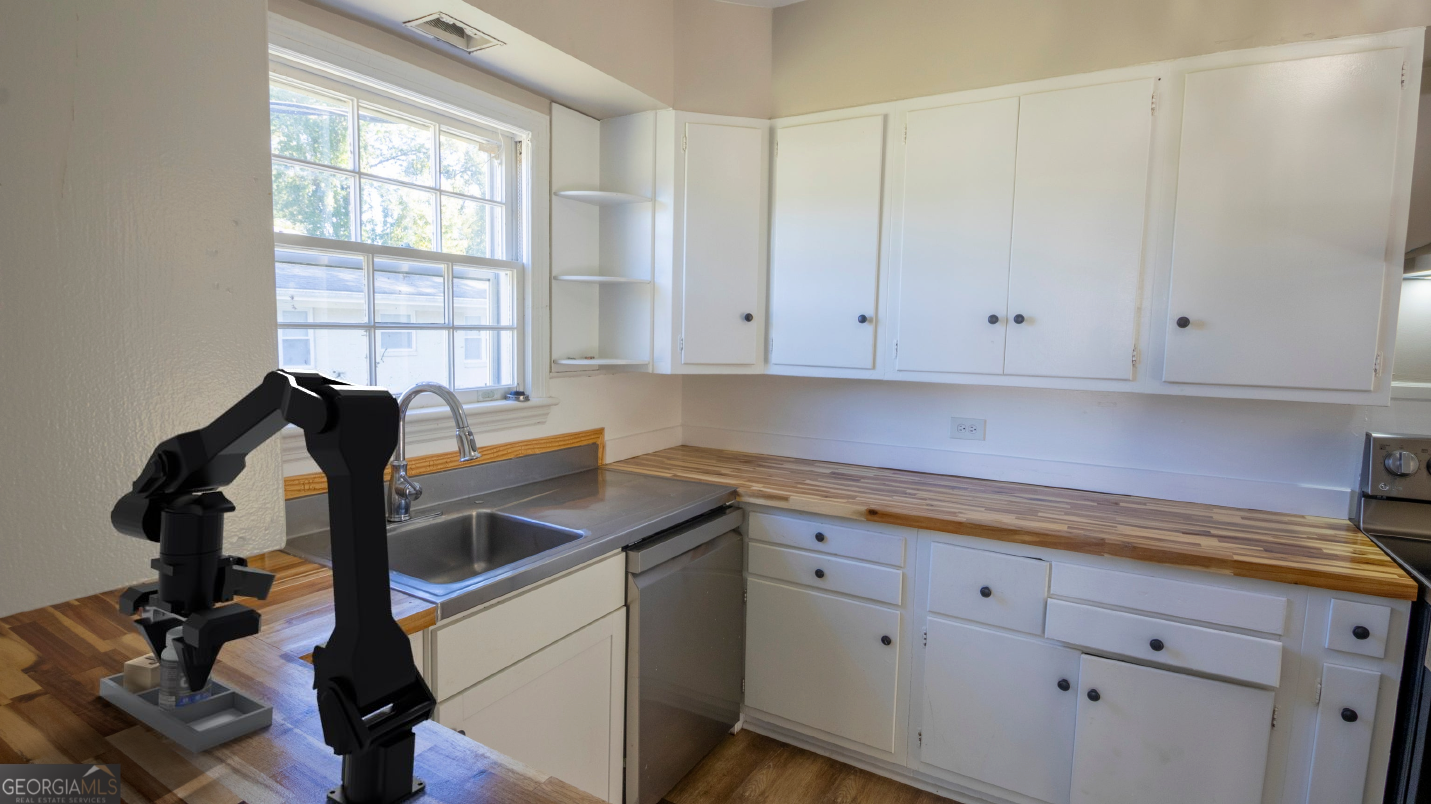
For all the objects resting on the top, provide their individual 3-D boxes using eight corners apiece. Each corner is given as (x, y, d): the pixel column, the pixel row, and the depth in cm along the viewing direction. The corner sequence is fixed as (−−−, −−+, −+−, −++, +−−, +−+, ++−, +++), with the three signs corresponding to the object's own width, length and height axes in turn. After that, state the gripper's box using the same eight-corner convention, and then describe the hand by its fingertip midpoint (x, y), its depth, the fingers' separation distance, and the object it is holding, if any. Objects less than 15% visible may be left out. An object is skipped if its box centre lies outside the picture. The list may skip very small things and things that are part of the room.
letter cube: (183, 688, 83) (185, 654, 83) (149, 702, 79) (151, 667, 79) (157, 682, 84) (159, 649, 84) (122, 696, 80) (124, 661, 80)
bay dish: (271, 731, 77) (272, 706, 76) (194, 762, 70) (196, 735, 70) (174, 680, 87) (175, 658, 87) (99, 702, 80) (100, 679, 80)
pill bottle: (182, 715, 76) (185, 639, 75) (147, 708, 76) (150, 634, 76) (221, 696, 80) (224, 625, 80) (187, 690, 81) (191, 620, 81)
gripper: (311, 550, 81) (305, 681, 81) (225, 525, 89) (220, 644, 90) (204, 570, 71) (197, 719, 71) (119, 540, 79) (113, 673, 80)
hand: (185, 685), depth 78 cm, fingers closed on pill bottle, 5 cm apart
